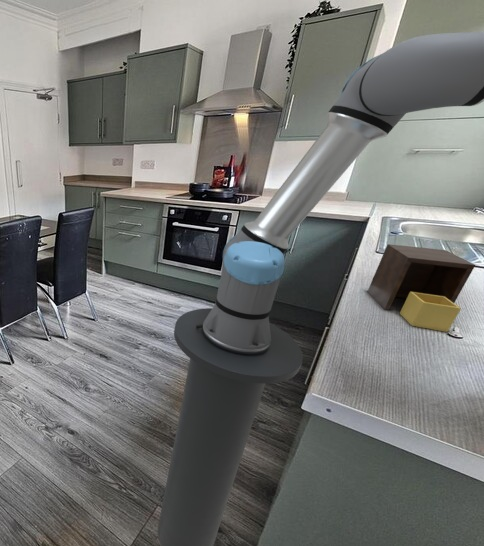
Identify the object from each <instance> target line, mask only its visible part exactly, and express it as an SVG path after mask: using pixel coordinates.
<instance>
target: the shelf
mask: <svg viewBox="0 0 484 546" xmlns="http://www.w3.org/2000/svg"><path fill="white" fill-rule="evenodd" d="M475 267H476V264H474V263H473V262H470V261H468V260H467V259H464V258H463V257H460V256H459V255H456V254H455V253H452V252H450V251H449V250H446V249H440V248H431V247H430V248H429V247H419V246H411V245H400V244H389V243H388V244H386V247H385V249H384V252H383V254H382V256H381V259H380V261H379V264H378V266H377V268H376V271H375V273H374V275H373V277H372V280H371V282H370V284H369V287H368V289H367V293H368V294H369V295H370V296H371V297H372V298H373V299H374V300H375V301H376V303H378V305H379V306H380V307H381V308H382V309H383V310H385V311H389V310H390V308H391V306H392V305H393V302H394V300H395V298H402V299H407V297H408V295H409V293H410V292H416V293H423V294H430V295H437V296H444V297H446V298H447V299H449V300H450V301H452V302H453V303H454V304H456V303H455V302H456V301H457V299H458V298H459V295H460V294H461V292H462V290H463V288H464V287H465V285H466V283H467V281H468V279H469V277H470V276H471V274H472V272H473V271H474V269H475Z"/></svg>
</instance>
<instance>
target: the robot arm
mask: <svg viewBox="0 0 484 546" xmlns="http://www.w3.org/2000/svg"><path fill="white" fill-rule="evenodd" d="M481 103H484V31H467V32H466V31H462V32H446V33H432V34H425V35H420V36H414V37H412V38H411V37H410V38H409V39H406V40H403V41H401V42H399V43H398V44H396V45H393V46H392V47H391V48H388V49H387V50H386V51H384V52H383V53H380V54H378V55H375V56H373V57H372V58H370V59H369V60H367V61H366V62H364V63H363V64H362V65H360V66H359V67H358V68H357V69H356V70H354V72H353V73H352V74H351V75H350V76H349V77H348V78H347V80H346V82H345V83H344V86H343V88H342V90H341V93H340V95H339V97H338V98H337V99H336V101H335V102H334V103H333V105H332V106H331V108H330V109H329V110H328V112H326V120H327V123H326V126H325V128H324V129H323V131H322V132H321V133H320V134H319V136H318V137H317V138H316V140H315V141H314V142H313V144H312V145H311V146H310V147H309V149H308V150H307V151H306V152H305V154H304V155H303V157H302V158H301V160H300V161H299V162H298V163H297V165H295V167H294V169H293V170H292V171H291V172H290V174H289V175H288V176H287V178H286V179H285V180H284V182H283V183H282V184H281V185H280V187H279V188H278V190H277V191H276V193H275V194H274V195H273V196H272V197H271V199H270V200H269V201H268V203H267V204H266V205H265V207H264V208H263V210H262V211H261V212H260V213H259V215H258V216H257V217H256V218H255V220H252V221H249V222H248V221H247V222H244V224H243V226H242V227H240V229H239V231H238V232H237V233H236V234H235V235H234V236H233V237H231V238H230V239H229V240H228V241H227V243H226V244H225V245H224V248H223V250H222V265H221V266H222V267H221V273H220V274H221V275H220V279H219V283H218V284H219V285H218V289H217V293H216V299H215V303H214V305H213V306H212V307H211V308H212V310H211V311H210V313H209V314H208V316H207V317H206V319H205V320H204V322H203V324H200V325H196V328H202V333H203V335H204V337H205V338H206V339H207V340H208V341H209V342H210V343H211V344H213V345H214V346H216V347H218V348H220V349H222V350H224V351H227V352H230V353H233V354H238V355H244V356H256V355H261V354H264V353H265V352H267V351H268V349H269V346H270V343H271V334H270V325H269V323H270V319H269V318H270V314H271V311H272V307H273V304H274V300H275V298H276V294H277V291H278V287H279V284H280V281H281V277H282V275H283V273H284V271H285V259H286V258H285V255H284V254H285V252H287V250H288V249H289V247H290V245H289V240H288V239H289V238H290V236H291V235H292V234H293V233H294V232H295V231H296V230H297V228H299V226H300V225H301V223H302V222H303V221H304V220H305V219H306V217H308V215H309V214H310V213H311V212H312V211H313V210H314V209H315V207H316V206H317V205H318V204H319V203H320V201H321V200H322V199H323V198H324V197H325V195H326V194H328V192H329V191H330V190H331V189H332V188H333V186H334V185H335V184H336V183H337V181H338V180H339V179H340V178H342V176H343V175H344V173H345V172H346V171H347V170H348V169H349V168H350V166H351V165H352V164H353V163H354V161H355V160H356V159H357V158H358V157H359V156H360V155H361V154H362V152H363V151H364V150H365V149H366V148H367V146H369V144H370V143H372V142H373V141H376V140H379V139H382V138H386V137H387V135H389V133H390V132H391V131H392V130H393V129H394V128H395V127H396V125H397V124H398V123H399V122H400V121H401V120H402V119H403V117H404V116H405V115H406V114H408V113H413V112H420V111H426V110H433V109H440V108H450V107H473V106H474V107H475V106H478V105H479V104H481Z"/></svg>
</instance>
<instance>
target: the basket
mask: <svg viewBox="0 0 484 546" xmlns="http://www.w3.org/2000/svg"><path fill="white" fill-rule="evenodd" d="M461 310H462V307H460V306H458V305H457V304H456V303H453V302H452V301H450V300H449V299H447V298H446V297H444V296H437V295H430V294H423V293H416V292H410V293H409V295H408V297H407V298H405V301H404V303H403V305H402V308H401V310H400V311H399V315H401V317H402V318H403V319H404V320H405V321H406V322H407V323H409V325H410V326H411V327H417V328H423V329H428V330H435V331H439V332H440V331H441V332H446V333H448V332H449V330H450V328H451V327H452V325H453V324H454V322H455V320H456V318H457V316H458V315H459V314H460V312H461Z"/></svg>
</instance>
